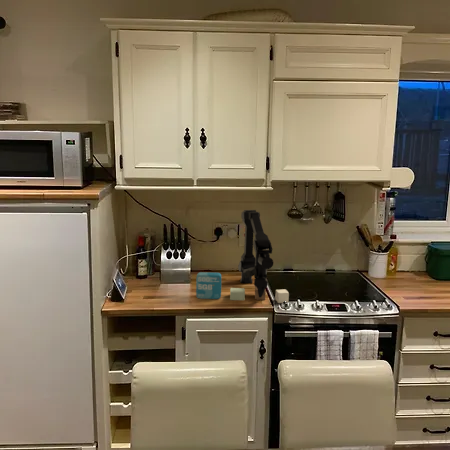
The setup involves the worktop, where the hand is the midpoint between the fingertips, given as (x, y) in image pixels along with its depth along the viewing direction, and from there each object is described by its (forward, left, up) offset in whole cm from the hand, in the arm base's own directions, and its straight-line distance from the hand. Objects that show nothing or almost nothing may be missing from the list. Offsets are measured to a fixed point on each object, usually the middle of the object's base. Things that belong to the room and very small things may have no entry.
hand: (260, 294), depth 228 cm
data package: (+2, -25, -2) cm, 25 cm away
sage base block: (+1, -11, -2) cm, 11 cm away
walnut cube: (0, 0, -2) cm, 2 cm away
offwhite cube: (+3, +10, -2) cm, 11 cm away
